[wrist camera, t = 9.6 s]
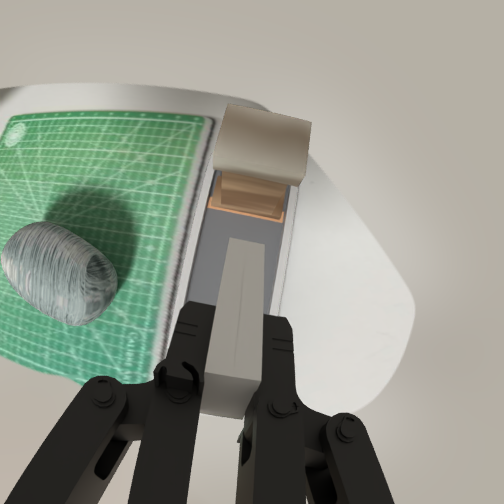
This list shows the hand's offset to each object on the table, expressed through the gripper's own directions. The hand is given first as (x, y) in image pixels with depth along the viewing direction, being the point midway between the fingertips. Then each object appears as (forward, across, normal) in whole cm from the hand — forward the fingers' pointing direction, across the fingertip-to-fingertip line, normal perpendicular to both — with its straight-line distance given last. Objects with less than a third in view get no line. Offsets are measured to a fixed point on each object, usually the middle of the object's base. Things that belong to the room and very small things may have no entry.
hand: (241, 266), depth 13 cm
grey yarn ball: (+12, -18, -15) cm, 26 cm away
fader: (+18, 0, -5) cm, 18 cm away
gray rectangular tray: (+15, 0, -11) cm, 19 cm away
